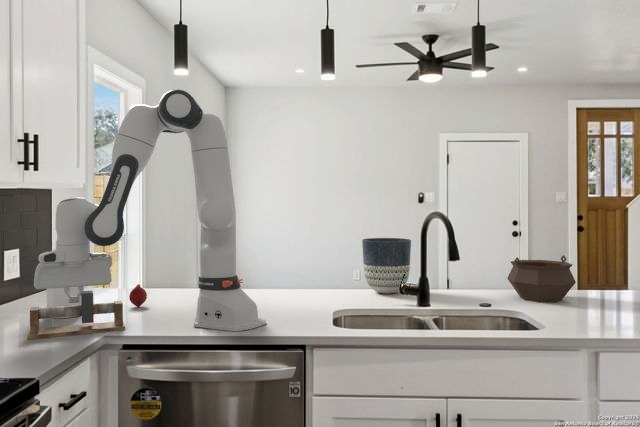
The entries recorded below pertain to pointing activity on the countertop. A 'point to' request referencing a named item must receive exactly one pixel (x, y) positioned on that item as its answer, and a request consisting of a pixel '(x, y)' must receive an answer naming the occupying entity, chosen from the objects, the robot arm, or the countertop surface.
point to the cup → (61, 298)
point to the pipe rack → (75, 310)
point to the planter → (386, 263)
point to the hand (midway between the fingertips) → (74, 302)
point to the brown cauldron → (541, 279)
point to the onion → (138, 296)
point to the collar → (87, 306)
